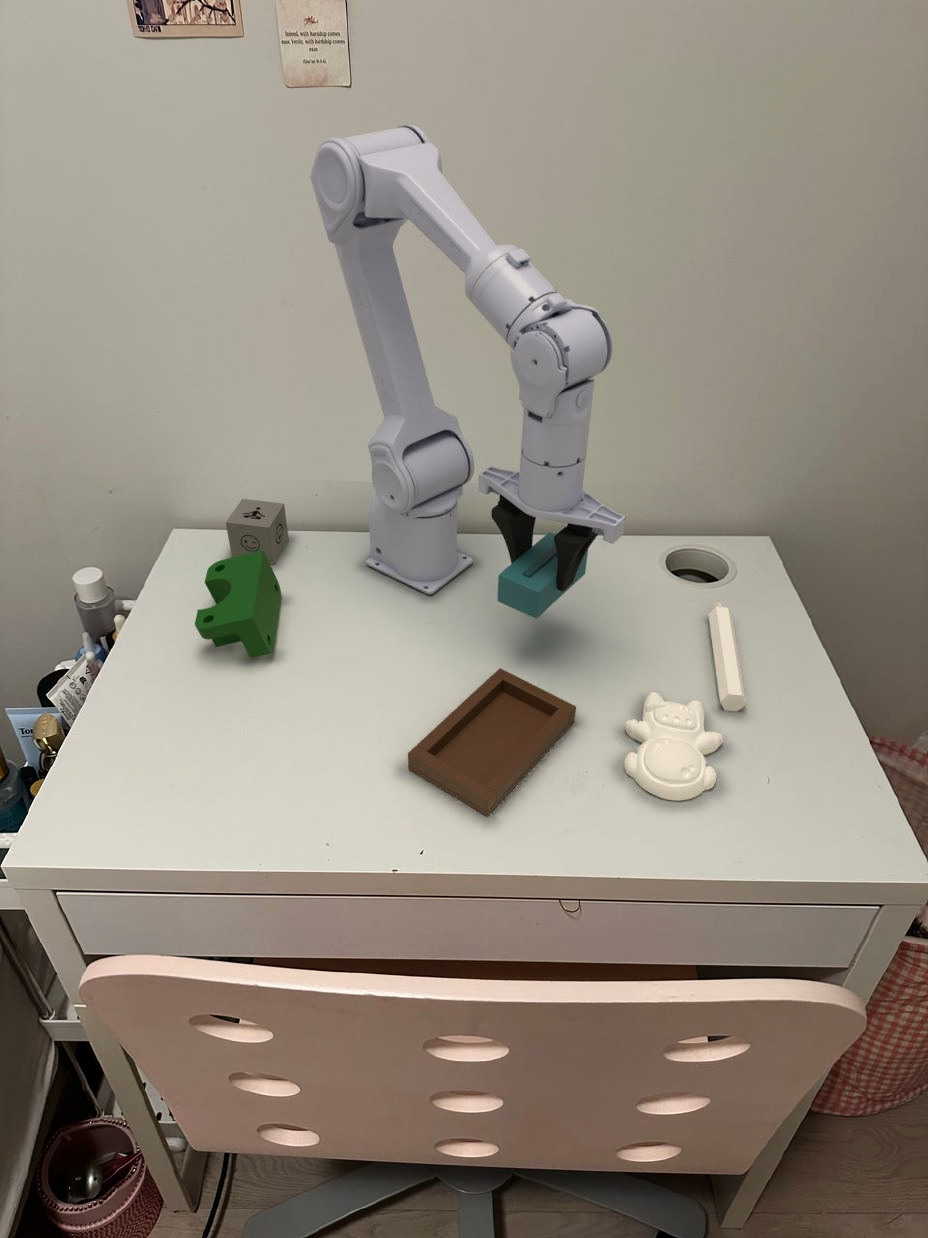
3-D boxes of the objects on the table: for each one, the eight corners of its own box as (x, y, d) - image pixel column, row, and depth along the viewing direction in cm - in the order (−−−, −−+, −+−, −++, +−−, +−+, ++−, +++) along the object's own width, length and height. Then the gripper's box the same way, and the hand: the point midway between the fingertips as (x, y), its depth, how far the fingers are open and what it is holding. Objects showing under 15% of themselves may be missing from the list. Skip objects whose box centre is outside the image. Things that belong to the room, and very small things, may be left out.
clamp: (239, 638, 102) (213, 559, 99) (292, 625, 101) (267, 546, 99) (208, 676, 90) (177, 588, 88) (266, 662, 90) (237, 573, 87)
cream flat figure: (726, 716, 87) (733, 693, 85) (709, 812, 78) (716, 788, 77) (634, 694, 89) (638, 671, 87) (608, 785, 81) (612, 761, 79)
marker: (716, 612, 101) (733, 715, 88) (700, 602, 100) (715, 705, 88) (732, 596, 99) (752, 699, 87) (717, 586, 99) (734, 689, 86)
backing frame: (487, 817, 78) (488, 800, 76) (408, 769, 82) (407, 753, 80) (574, 722, 86) (576, 706, 85) (499, 683, 90) (499, 667, 89)
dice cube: (232, 559, 106) (225, 522, 102) (248, 534, 109) (242, 498, 106) (274, 564, 105) (269, 527, 102) (288, 539, 109) (284, 503, 106)
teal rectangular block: (536, 619, 87) (538, 589, 85) (497, 601, 89) (498, 571, 87) (585, 573, 93) (588, 544, 90) (547, 557, 95) (549, 529, 92)
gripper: (649, 458, 80) (629, 583, 89) (510, 411, 87) (504, 532, 96) (609, 492, 76) (592, 620, 85) (465, 439, 83) (464, 564, 91)
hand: (543, 576), depth 90 cm, fingers closed on teal rectangular block, 4 cm apart
